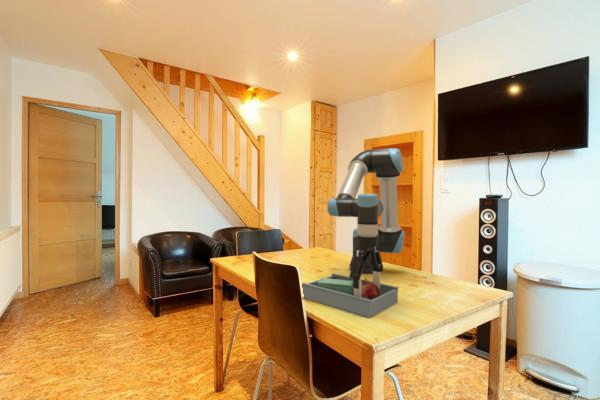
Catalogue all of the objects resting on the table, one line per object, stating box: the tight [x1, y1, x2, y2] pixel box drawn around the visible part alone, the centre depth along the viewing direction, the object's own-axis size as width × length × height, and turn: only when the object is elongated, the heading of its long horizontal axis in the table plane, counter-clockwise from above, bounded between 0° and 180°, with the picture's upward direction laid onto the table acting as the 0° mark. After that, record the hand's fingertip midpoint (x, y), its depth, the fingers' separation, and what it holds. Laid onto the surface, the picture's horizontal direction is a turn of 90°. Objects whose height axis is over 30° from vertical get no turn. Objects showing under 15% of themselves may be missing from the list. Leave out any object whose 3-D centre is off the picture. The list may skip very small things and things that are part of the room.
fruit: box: [361, 278, 380, 300], centre depth 116 cm, size 9×10×10 cm
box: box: [317, 277, 354, 295], centre depth 121 cm, size 7×14×8 cm, turn 73°
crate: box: [301, 273, 399, 319], centre depth 121 cm, size 21×30×6 cm
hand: (367, 292), depth 116 cm, fingers open, 13 cm apart
